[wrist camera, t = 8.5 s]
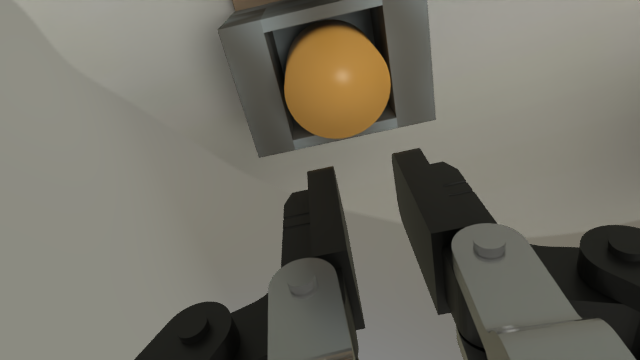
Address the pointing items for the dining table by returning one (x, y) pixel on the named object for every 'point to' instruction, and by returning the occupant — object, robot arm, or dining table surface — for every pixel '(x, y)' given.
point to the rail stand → (273, 46)
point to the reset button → (335, 80)
